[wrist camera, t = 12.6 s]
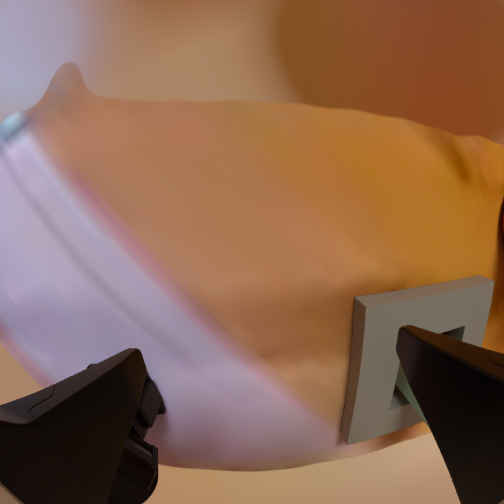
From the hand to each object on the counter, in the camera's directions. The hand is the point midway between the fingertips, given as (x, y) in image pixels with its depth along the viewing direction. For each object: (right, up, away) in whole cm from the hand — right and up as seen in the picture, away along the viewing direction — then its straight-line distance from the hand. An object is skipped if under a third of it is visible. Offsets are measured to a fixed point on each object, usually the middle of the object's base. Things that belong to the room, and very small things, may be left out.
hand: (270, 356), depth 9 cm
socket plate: (+16, -8, +15) cm, 24 cm away
